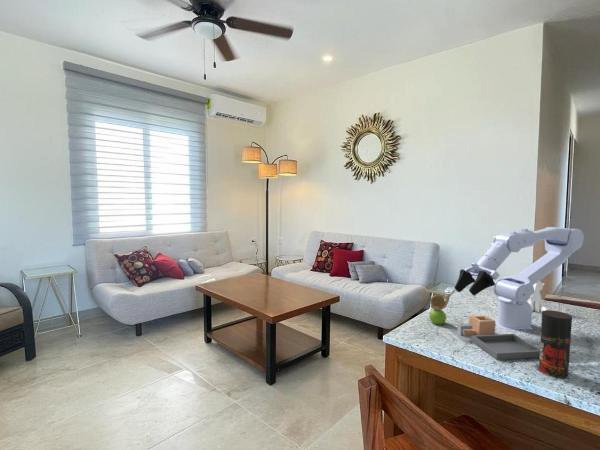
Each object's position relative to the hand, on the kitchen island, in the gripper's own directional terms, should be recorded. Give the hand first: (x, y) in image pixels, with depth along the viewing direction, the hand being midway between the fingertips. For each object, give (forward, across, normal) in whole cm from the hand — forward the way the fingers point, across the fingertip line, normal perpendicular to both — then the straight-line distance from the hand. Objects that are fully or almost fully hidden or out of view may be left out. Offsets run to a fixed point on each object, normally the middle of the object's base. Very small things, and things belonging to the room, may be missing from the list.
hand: (463, 291), depth 108 cm
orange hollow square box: (+7, 0, +12) cm, 14 cm away
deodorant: (+6, +23, +18) cm, 30 cm away
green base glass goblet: (+11, -10, +7) cm, 17 cm away
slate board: (+7, 0, +12) cm, 14 cm away
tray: (+7, +11, +14) cm, 20 cm away
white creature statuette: (-23, -18, +36) cm, 47 cm away
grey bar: (+8, 0, +11) cm, 14 cm away
